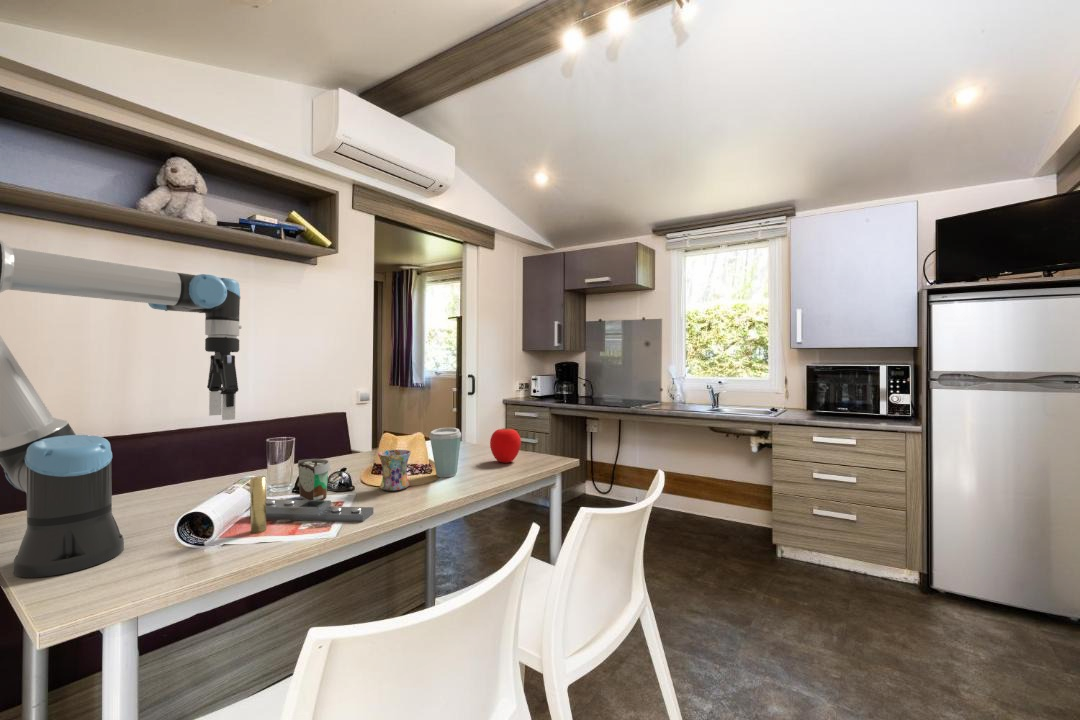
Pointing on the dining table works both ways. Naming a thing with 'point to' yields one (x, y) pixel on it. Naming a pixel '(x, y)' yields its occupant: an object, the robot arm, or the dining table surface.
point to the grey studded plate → (313, 511)
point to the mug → (394, 469)
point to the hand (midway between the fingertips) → (221, 417)
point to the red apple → (505, 444)
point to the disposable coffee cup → (445, 450)
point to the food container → (313, 478)
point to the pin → (258, 504)
